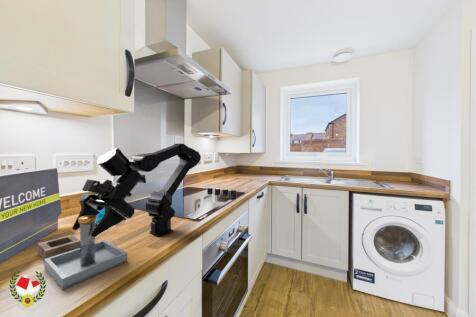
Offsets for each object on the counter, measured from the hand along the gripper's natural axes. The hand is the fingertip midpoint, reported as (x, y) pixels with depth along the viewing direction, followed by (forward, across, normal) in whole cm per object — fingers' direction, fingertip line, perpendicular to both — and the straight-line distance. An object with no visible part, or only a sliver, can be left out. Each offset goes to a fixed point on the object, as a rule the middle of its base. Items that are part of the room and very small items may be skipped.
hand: (82, 232), depth 52 cm
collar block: (+6, -15, +7) cm, 18 cm away
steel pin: (+5, 0, +7) cm, 9 cm away
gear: (-8, -29, +21) cm, 37 cm away
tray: (+6, 0, +7) cm, 9 cm away
